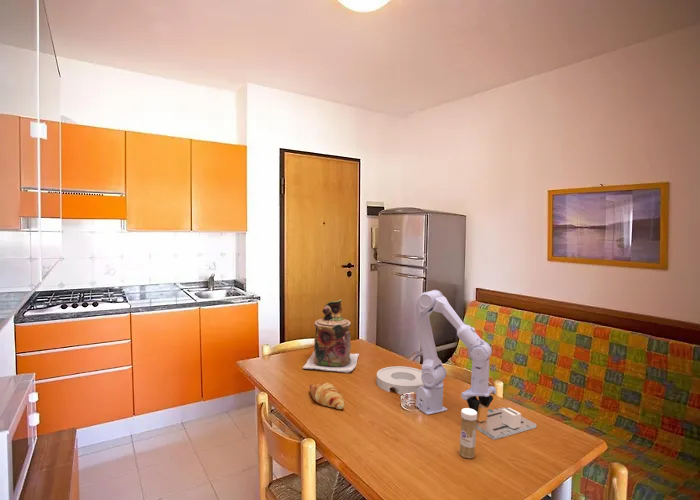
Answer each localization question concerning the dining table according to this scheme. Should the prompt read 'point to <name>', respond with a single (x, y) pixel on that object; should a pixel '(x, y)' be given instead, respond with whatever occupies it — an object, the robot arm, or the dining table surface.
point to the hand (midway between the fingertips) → (478, 415)
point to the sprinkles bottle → (468, 432)
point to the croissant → (327, 395)
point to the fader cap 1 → (482, 413)
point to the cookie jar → (332, 342)
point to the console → (501, 425)
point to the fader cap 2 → (511, 418)
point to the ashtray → (399, 379)
